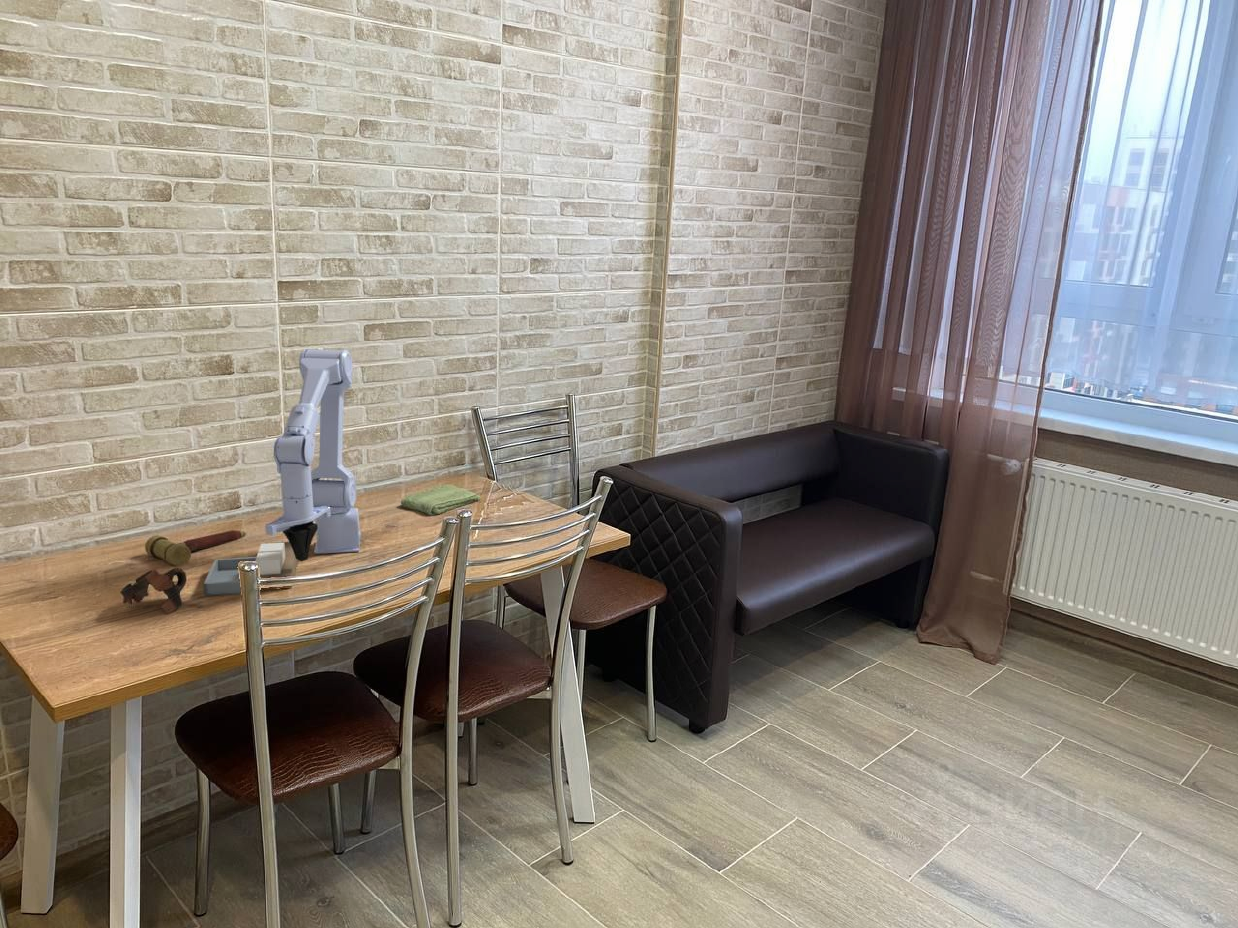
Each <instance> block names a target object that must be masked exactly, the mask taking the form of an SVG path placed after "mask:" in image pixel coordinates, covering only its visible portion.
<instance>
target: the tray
mask: <svg viewBox="0 0 1238 928" xmlns="http://www.w3.org/2000/svg"><path fill="white" fill-rule="evenodd" d="M256 557H257V556H251V557H250V556H249V557H234V558H233V557H232V558H231V557H230V558H216V559H214V561H213V562H212V565H211V567H210V569H209V572H208V574H207V576H206V579H205V580H204V582H203V591H204V593H203V595H204V597H210V596H227V595H240V594H241V587H240V579H239V573H238V568H237V567H238V563H239V562H240V561H255V560H256Z"/></svg>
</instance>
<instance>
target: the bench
mask: <svg viewBox="0 0 1238 928" xmlns="http://www.w3.org/2000/svg"><path fill="white" fill-rule="evenodd" d="M266 543H267V542H265V543H264V544H266ZM274 543H284V544H285V559H284V563H283V566H282V570H281V574H268V575H260V577H261V578H271V577H287V576H295V577H296V573H295V572H297V569H296V567H297V568H298V564H299V560H298V559H296V558H295V555H294V552H293V549H292V547H291V544H290V542H289V541H280V542H279V541H277V542H274ZM297 563H298V564H297ZM277 588H291V589H292V588H293V585H292V586H283V587H269V588H261V591H273V590H275V591H276V590H278V589H277Z"/></svg>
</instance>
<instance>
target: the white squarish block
mask: <svg viewBox="0 0 1238 928" xmlns="http://www.w3.org/2000/svg"><path fill="white" fill-rule="evenodd" d="M255 557H256V560H255V561H256V562H257V563H258V564H259V567H260V575H268V574H281V570H282V566H283V561H282V551H281V552H264V553H259V552H257V556H255Z"/></svg>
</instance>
